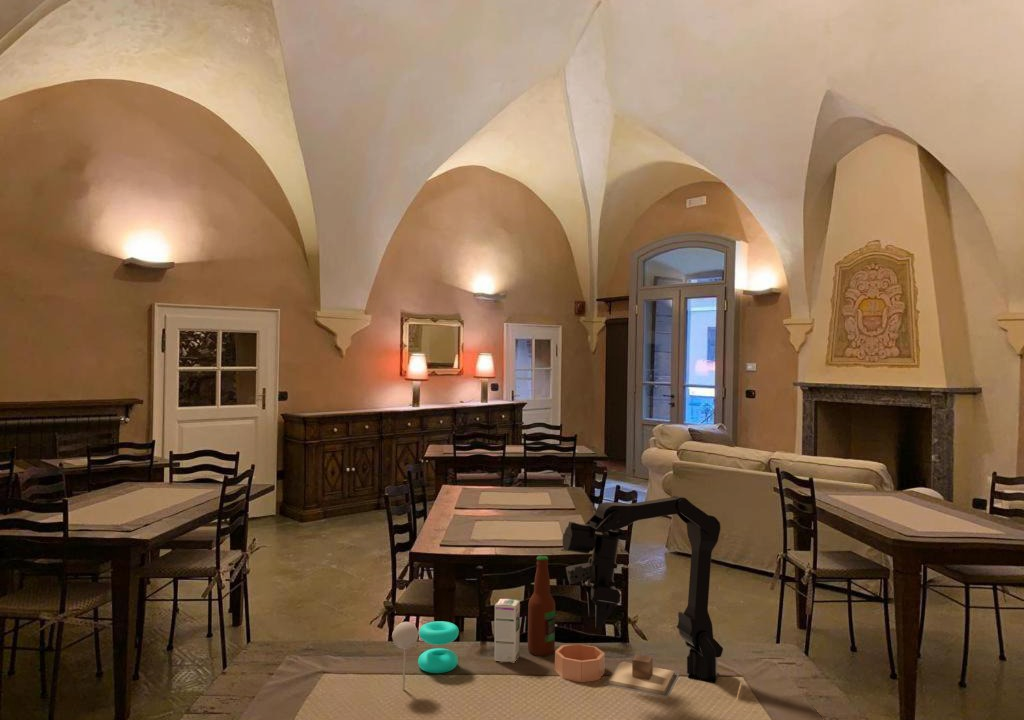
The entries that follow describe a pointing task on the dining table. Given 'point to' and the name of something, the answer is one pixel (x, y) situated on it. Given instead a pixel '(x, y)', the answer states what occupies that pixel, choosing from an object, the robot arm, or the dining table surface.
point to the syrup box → (507, 630)
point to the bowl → (579, 662)
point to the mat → (646, 691)
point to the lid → (642, 675)
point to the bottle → (541, 613)
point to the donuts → (438, 657)
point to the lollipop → (405, 639)
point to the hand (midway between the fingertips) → (594, 622)
